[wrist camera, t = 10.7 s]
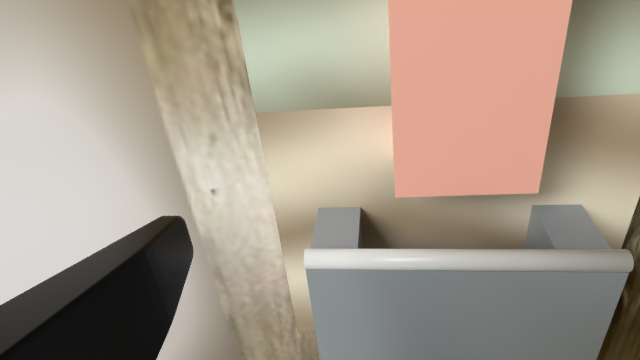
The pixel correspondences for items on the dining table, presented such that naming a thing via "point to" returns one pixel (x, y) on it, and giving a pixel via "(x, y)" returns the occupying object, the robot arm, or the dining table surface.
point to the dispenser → (465, 293)
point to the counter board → (377, 141)
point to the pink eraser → (473, 93)
